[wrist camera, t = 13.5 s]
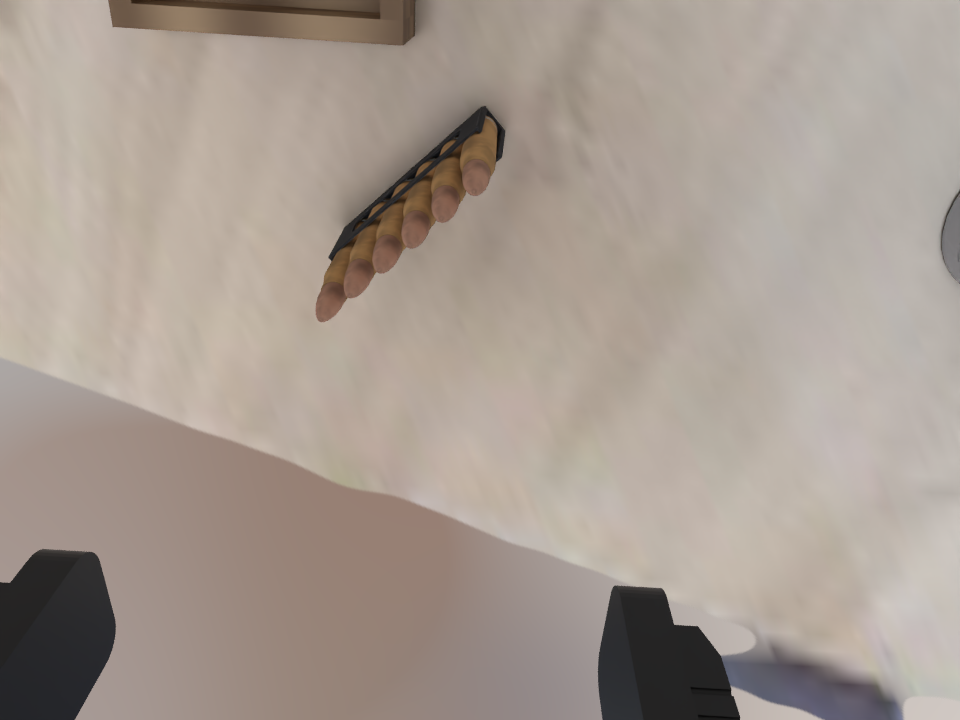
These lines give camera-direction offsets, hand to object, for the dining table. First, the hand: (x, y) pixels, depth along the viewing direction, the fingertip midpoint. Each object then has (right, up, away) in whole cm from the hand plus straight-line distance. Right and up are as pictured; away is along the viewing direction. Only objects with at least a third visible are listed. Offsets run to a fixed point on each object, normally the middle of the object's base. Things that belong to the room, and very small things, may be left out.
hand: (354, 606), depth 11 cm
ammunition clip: (-1, +14, +29) cm, 33 cm away
